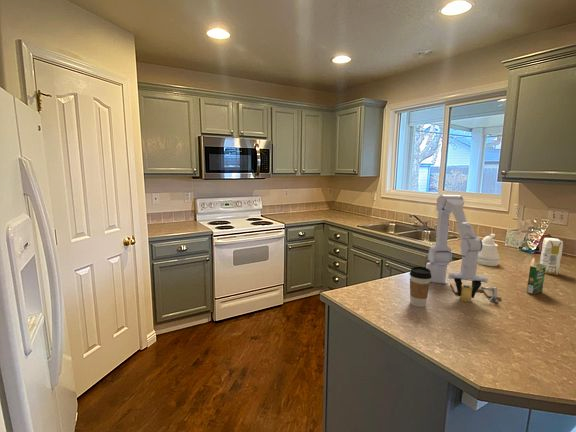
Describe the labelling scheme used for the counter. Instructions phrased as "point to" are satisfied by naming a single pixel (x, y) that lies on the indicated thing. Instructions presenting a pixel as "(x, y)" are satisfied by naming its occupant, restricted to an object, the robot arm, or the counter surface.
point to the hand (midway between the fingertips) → (465, 296)
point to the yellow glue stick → (466, 293)
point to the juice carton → (551, 255)
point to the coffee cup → (419, 285)
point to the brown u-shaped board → (486, 292)
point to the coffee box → (536, 279)
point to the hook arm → (494, 292)
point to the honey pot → (488, 252)
